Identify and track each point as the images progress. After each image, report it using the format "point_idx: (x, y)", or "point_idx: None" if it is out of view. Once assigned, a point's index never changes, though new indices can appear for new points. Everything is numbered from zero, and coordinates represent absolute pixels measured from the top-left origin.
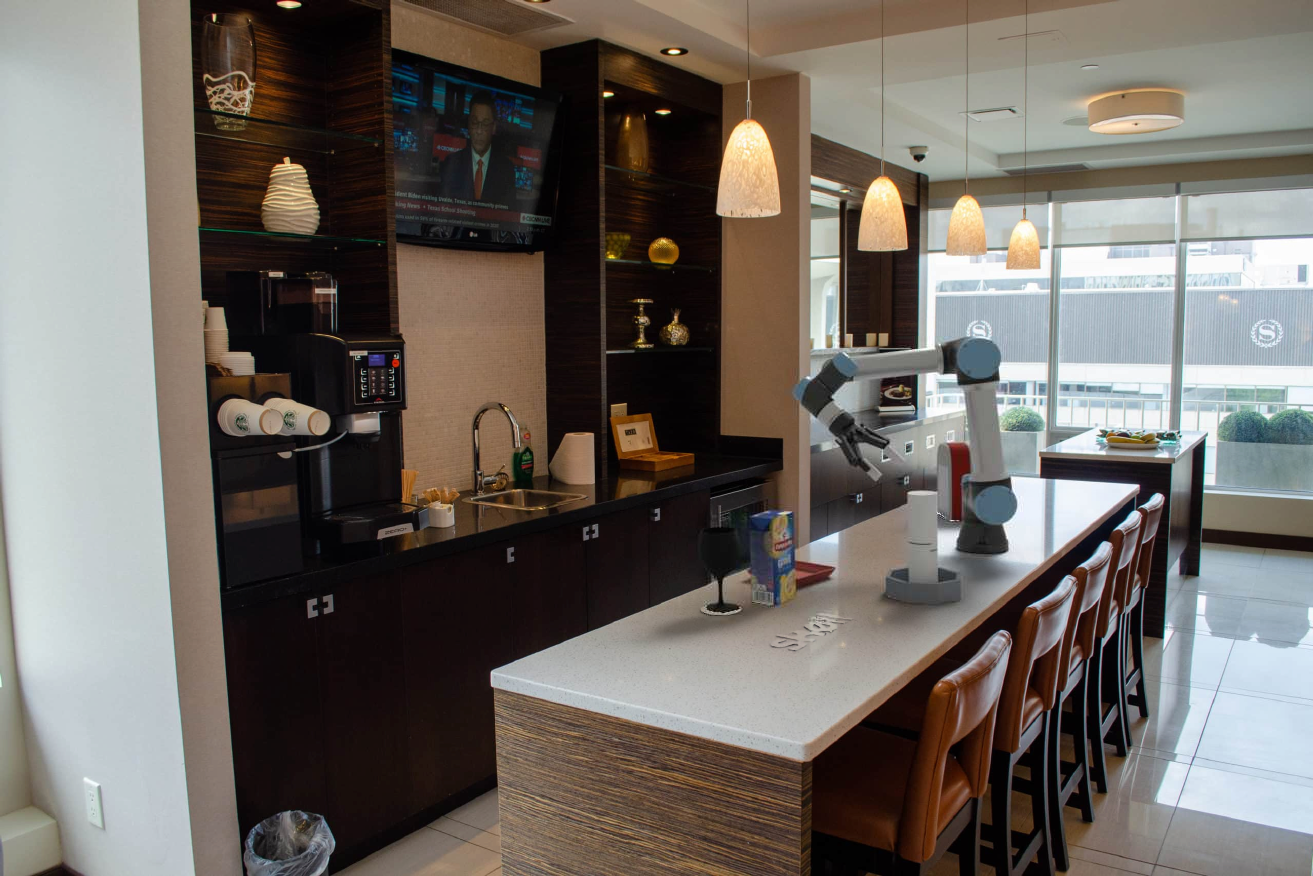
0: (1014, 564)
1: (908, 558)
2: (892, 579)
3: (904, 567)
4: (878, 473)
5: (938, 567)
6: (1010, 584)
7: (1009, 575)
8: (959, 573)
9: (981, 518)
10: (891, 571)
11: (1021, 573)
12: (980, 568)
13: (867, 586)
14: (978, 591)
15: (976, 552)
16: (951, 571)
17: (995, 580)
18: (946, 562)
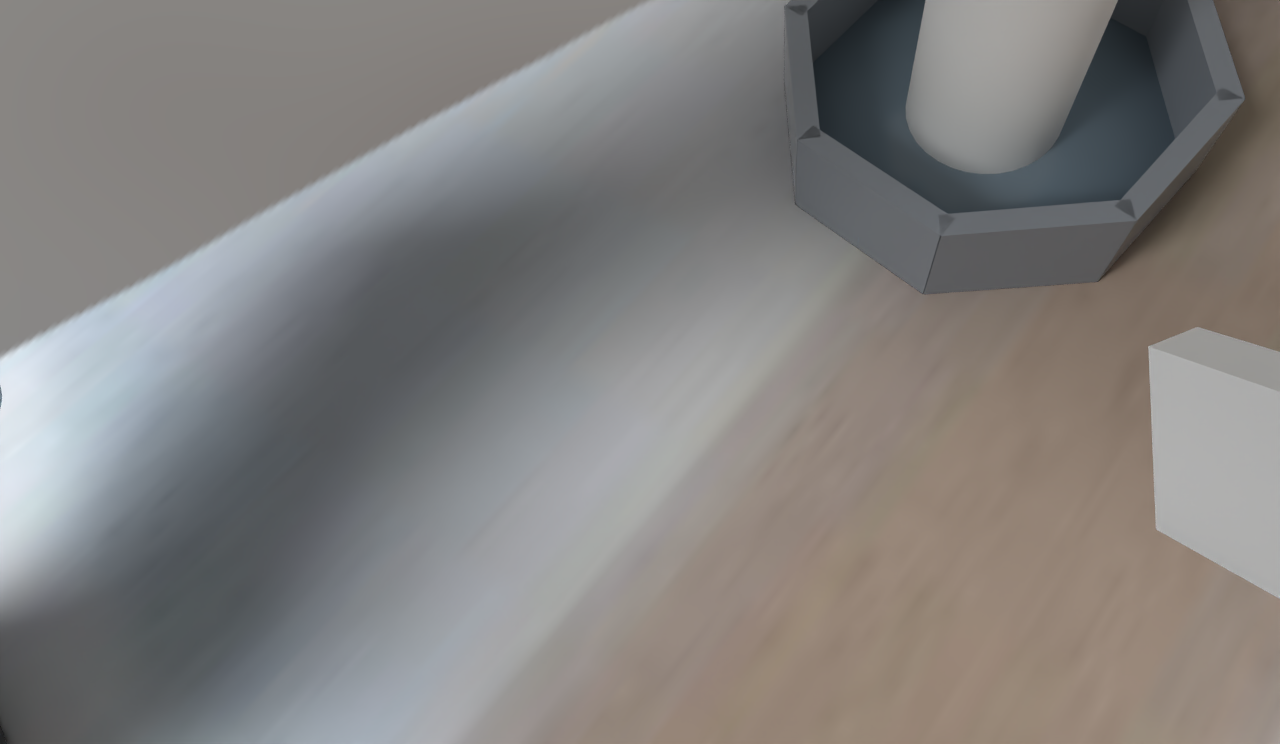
0: (118, 384)
1: (1113, 8)
2: (1227, 49)
3: (1000, 229)
4: (1251, 352)
5: (810, 143)
6: (482, 95)
7: (343, 219)
8: (799, 2)
9: (1, 400)
10: (1138, 185)
11: (266, 223)
12: (327, 405)
13: None
14: (700, 63)
15: (2, 738)
16: (808, 47)
17: (477, 176)
18: (353, 642)
